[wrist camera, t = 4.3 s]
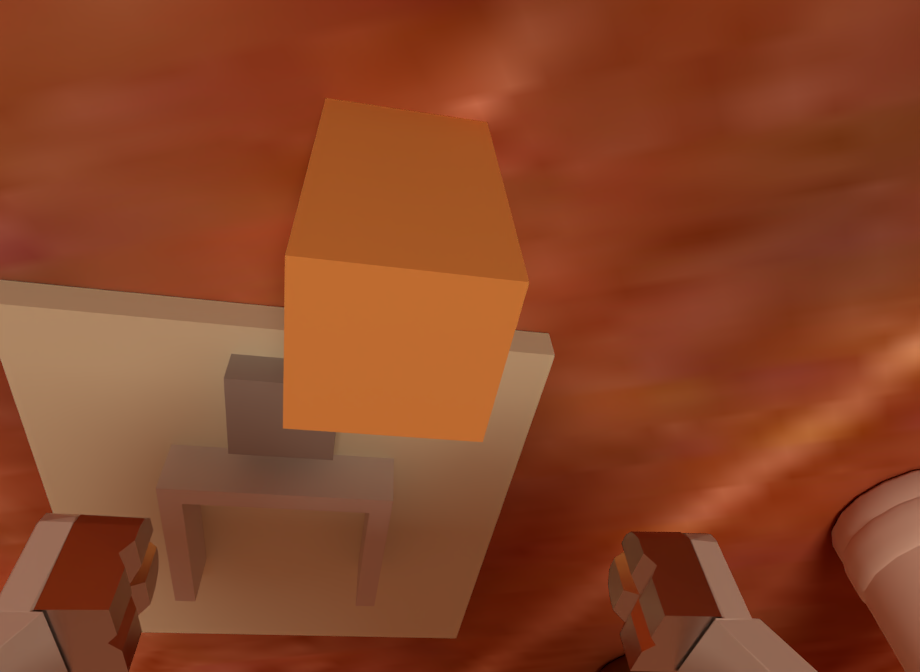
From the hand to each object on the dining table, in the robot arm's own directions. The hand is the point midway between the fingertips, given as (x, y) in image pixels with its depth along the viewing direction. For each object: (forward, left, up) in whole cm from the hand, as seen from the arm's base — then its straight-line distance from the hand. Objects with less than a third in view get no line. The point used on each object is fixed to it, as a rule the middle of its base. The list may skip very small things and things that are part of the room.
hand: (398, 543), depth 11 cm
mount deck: (+14, -3, -12) cm, 18 cm away
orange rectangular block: (-1, 0, -12) cm, 12 cm away
